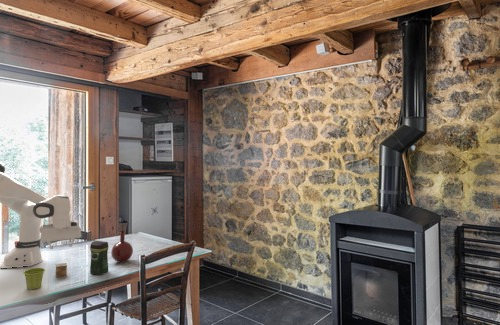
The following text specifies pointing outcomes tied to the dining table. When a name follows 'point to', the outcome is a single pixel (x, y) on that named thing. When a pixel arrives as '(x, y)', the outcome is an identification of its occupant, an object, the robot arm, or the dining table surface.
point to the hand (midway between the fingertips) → (61, 247)
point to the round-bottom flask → (122, 249)
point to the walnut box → (61, 270)
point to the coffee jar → (99, 257)
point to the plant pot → (34, 277)
